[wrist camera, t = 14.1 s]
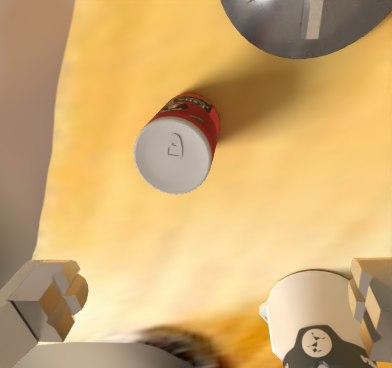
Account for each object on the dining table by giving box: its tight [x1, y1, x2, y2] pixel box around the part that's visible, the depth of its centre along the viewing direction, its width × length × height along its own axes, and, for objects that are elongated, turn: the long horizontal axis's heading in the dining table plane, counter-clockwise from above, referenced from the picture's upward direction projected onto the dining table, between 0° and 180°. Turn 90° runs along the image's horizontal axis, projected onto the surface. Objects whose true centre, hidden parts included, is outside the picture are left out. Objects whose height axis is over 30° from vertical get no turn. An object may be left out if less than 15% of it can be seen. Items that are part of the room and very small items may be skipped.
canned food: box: [134, 94, 220, 194], centre depth 32 cm, size 8×8×11 cm
